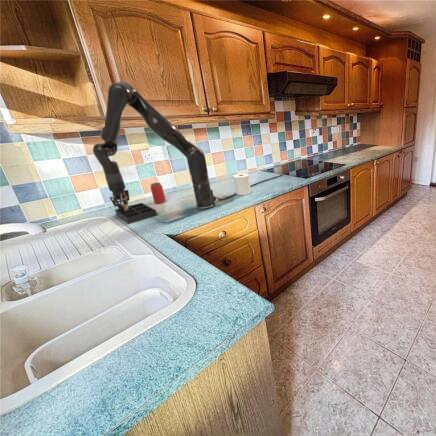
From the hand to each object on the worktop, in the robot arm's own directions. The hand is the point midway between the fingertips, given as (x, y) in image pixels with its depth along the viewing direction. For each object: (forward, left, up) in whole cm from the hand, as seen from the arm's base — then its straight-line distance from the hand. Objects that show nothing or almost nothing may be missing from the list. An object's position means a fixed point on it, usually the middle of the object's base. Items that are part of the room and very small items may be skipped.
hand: (124, 210), depth 146 cm
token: (0, 0, 0) cm, 0 cm away
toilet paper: (-64, +25, -2) cm, 69 cm away
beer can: (-21, -5, -2) cm, 22 cm away
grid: (-3, +7, -2) cm, 8 cm away
